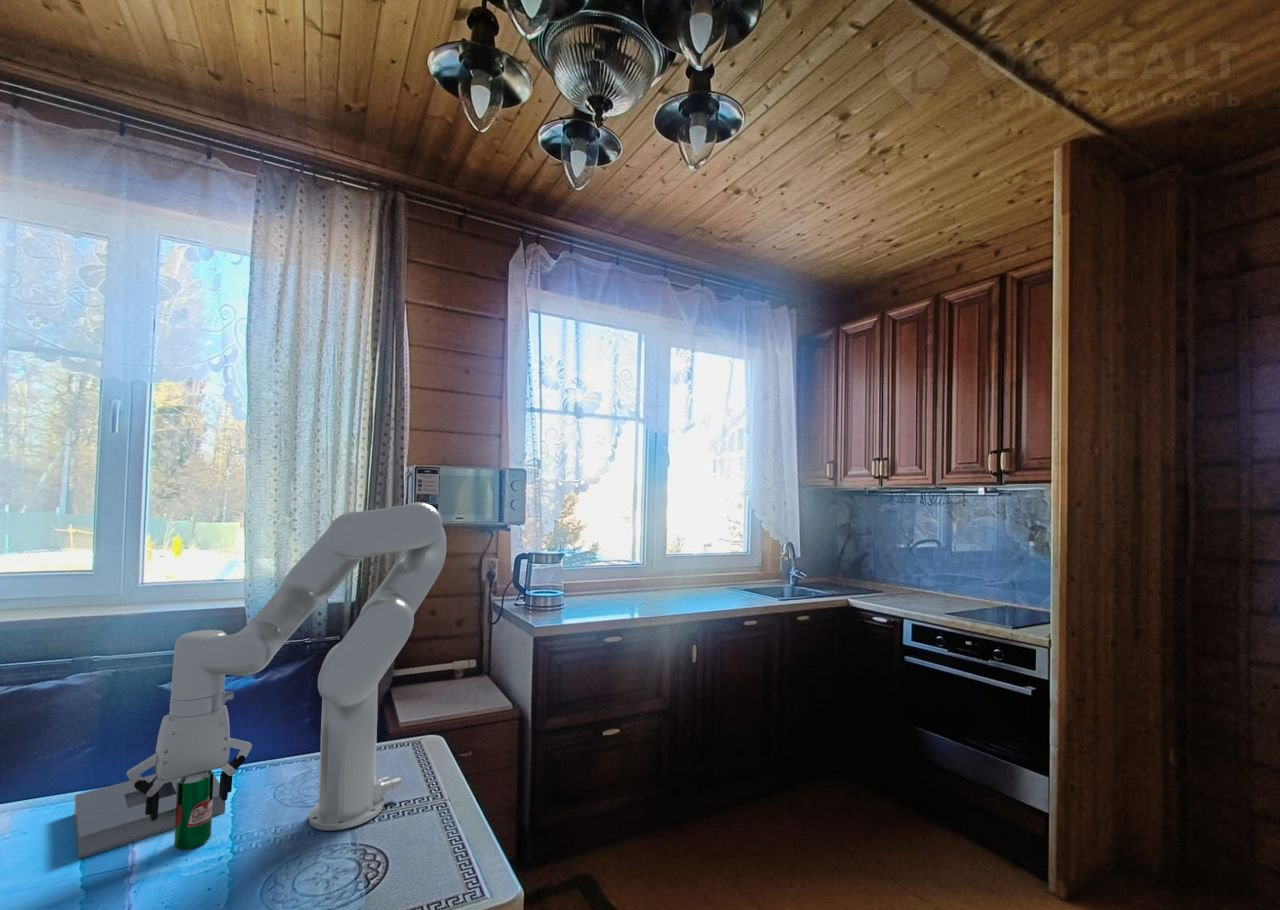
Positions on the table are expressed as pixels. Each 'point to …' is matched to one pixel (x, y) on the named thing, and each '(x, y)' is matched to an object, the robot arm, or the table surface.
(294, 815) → the table surface
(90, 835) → the bore block
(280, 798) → the table surface
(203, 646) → the robot arm
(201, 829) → the soda can
